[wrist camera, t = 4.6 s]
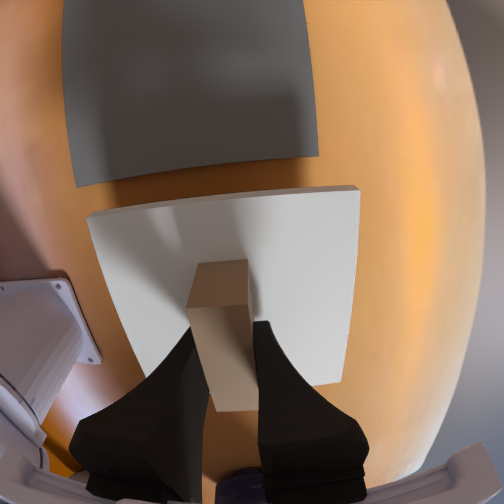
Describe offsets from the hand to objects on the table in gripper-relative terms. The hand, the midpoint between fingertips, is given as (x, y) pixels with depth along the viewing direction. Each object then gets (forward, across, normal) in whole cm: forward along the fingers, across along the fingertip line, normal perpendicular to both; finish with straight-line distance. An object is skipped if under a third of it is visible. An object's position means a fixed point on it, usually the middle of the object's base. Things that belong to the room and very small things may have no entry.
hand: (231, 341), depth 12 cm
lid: (+2, 0, 0) cm, 2 cm away
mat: (+7, +2, -14) cm, 15 cm away
